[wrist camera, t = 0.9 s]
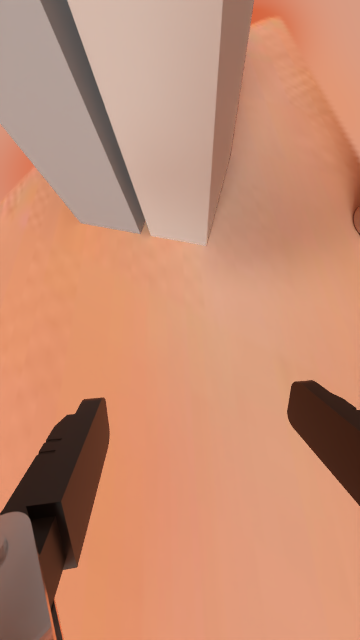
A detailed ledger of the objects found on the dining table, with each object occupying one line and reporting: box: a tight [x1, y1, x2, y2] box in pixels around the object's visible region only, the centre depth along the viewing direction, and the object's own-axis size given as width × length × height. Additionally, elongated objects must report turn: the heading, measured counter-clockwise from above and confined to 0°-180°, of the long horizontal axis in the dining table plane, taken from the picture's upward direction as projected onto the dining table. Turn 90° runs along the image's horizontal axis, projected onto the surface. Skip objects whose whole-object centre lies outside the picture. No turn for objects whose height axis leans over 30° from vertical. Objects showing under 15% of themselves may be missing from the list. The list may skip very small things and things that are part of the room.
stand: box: [0, 0, 254, 246], centre depth 21 cm, size 20×24×34 cm
